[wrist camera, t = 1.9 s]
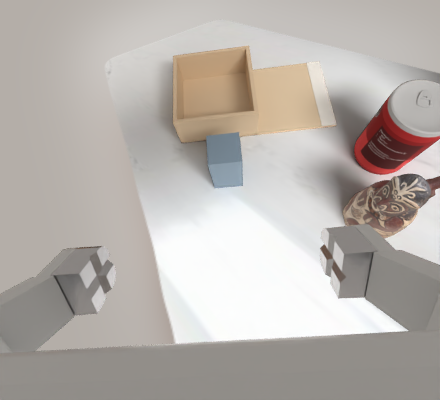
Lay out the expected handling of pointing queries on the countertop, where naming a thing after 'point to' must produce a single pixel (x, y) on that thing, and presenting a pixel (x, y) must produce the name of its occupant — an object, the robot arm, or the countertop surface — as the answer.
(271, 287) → the countertop surface
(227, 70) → the mailer box
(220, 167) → the blue rectangular block
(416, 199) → the figurine
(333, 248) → the robot arm
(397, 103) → the canned food
